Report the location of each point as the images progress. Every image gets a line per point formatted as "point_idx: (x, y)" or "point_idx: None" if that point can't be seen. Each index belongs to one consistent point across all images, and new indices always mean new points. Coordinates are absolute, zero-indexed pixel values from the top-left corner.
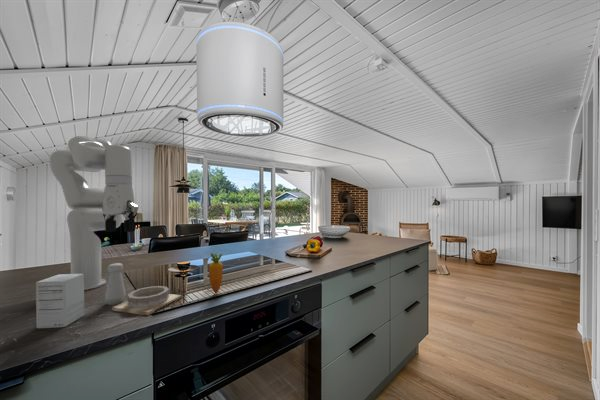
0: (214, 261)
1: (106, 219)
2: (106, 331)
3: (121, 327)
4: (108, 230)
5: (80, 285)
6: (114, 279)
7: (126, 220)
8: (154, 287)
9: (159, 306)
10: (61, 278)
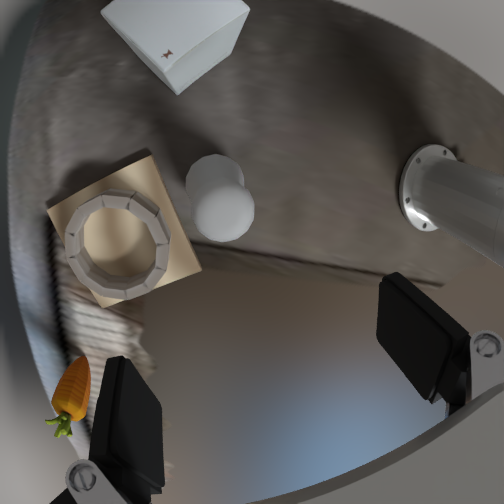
0: (63, 414)
1: (470, 351)
2: (36, 120)
3: (32, 147)
4: (385, 295)
5: (154, 68)
6: (198, 188)
7: (100, 458)
8: (147, 277)
9: (63, 242)
10: (148, 4)
